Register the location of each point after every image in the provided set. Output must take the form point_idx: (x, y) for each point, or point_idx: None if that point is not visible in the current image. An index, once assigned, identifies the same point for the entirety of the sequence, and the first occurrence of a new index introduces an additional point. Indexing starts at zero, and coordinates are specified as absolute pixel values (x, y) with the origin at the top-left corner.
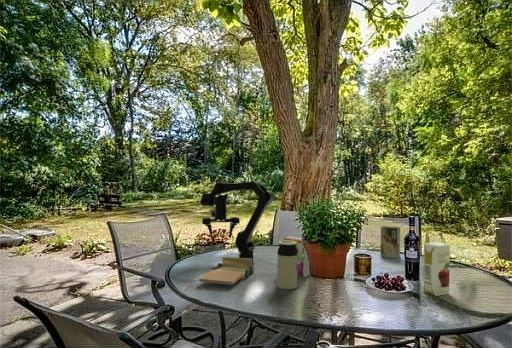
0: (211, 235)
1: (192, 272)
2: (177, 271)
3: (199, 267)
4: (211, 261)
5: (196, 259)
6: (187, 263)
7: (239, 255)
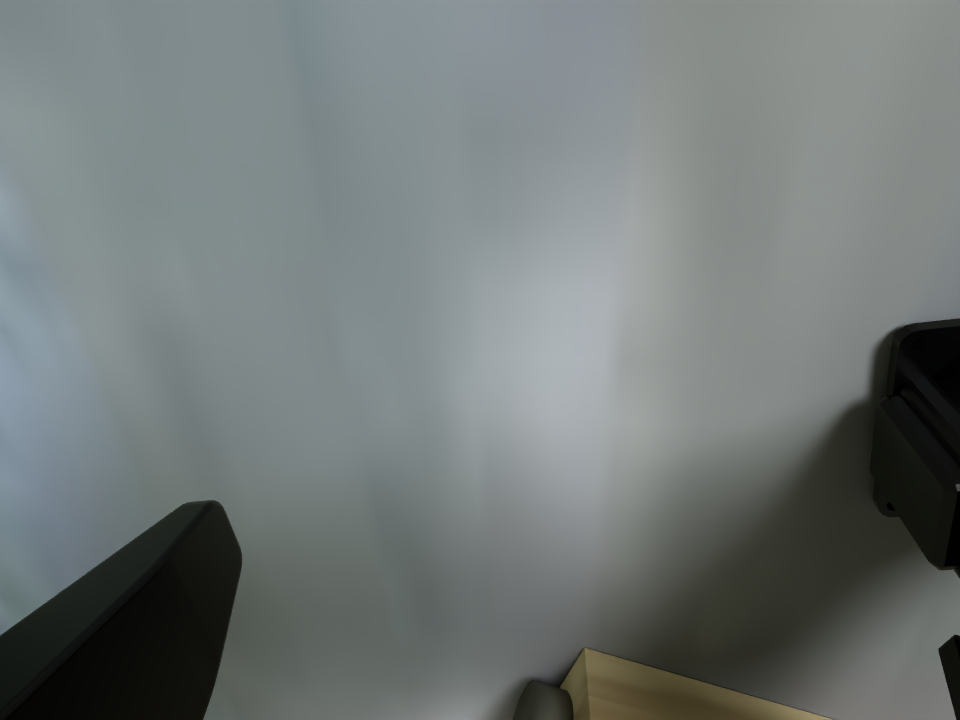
0: (191, 670)
1: (236, 708)
2: None
3: (262, 550)
4: (383, 231)
5: (48, 49)
6: (9, 345)
7: (928, 551)
